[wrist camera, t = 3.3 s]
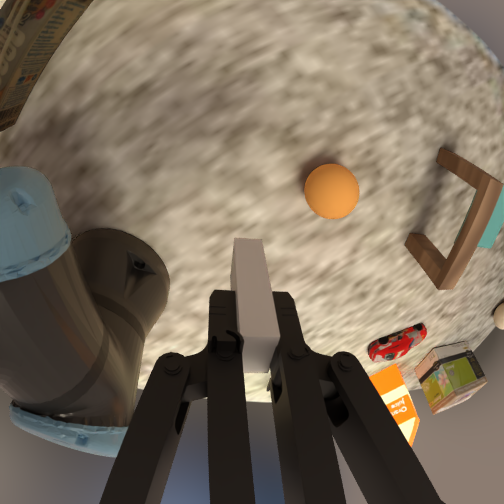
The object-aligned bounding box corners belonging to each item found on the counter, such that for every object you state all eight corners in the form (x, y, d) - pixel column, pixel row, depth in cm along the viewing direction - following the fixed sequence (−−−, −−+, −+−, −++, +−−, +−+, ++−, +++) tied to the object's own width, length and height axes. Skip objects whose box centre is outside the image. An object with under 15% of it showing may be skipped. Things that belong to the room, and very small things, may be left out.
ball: (294, 201, 30) (306, 227, 26) (304, 153, 27) (320, 171, 23) (340, 206, 31) (358, 231, 27) (352, 161, 28) (375, 180, 23)
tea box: (412, 370, 61) (431, 416, 49) (433, 346, 55) (457, 396, 43) (447, 361, 63) (466, 401, 51) (467, 339, 57) (489, 381, 45)
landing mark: (454, 243, 36) (454, 243, 36) (482, 174, 29) (483, 175, 29) (490, 247, 38) (490, 248, 38) (515, 190, 31) (516, 191, 31)
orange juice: (375, 387, 63) (396, 453, 47) (366, 378, 58) (390, 451, 42) (401, 373, 60) (426, 439, 44) (396, 363, 56) (424, 436, 40)
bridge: (404, 245, 35) (438, 289, 28) (440, 147, 27) (490, 178, 20) (419, 246, 36) (452, 289, 28) (455, 153, 27) (503, 184, 20)
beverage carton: (115, -17, 14) (88, -34, 9) (17, 128, 21) (-19, 146, 16) (72, -40, 11) (42, -54, 5) (-16, 98, 17) (-51, 111, 12)
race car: (425, 318, 47) (434, 333, 44) (420, 333, 51) (428, 348, 47) (368, 339, 48) (375, 356, 45) (365, 354, 52) (372, 369, 48)
